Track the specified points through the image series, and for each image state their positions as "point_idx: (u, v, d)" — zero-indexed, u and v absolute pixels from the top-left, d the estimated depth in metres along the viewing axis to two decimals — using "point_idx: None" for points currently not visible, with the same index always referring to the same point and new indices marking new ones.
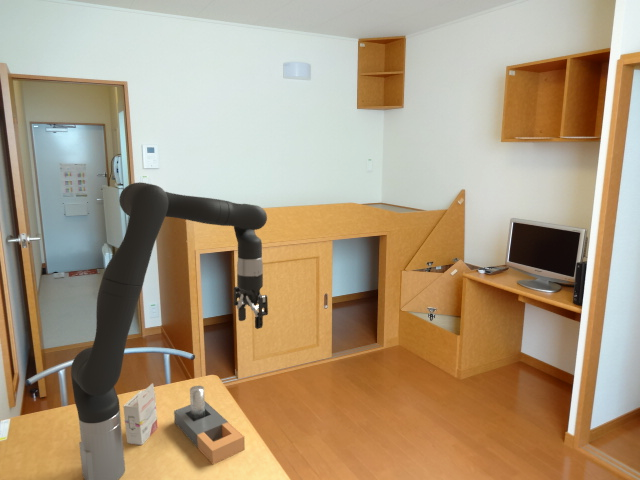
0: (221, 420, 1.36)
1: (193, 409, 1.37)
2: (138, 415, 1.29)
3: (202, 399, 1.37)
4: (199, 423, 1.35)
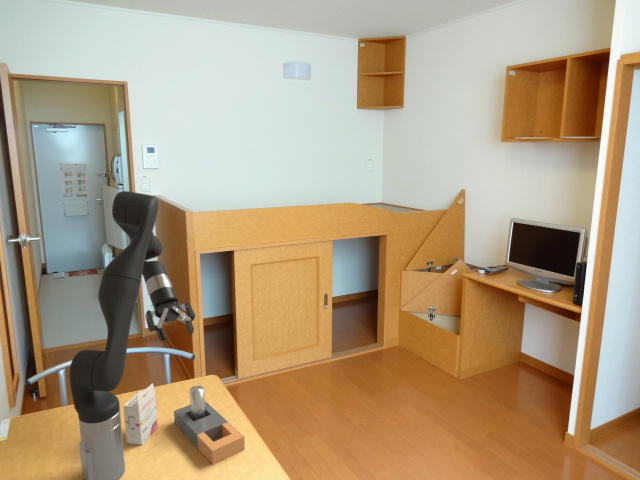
0: (221, 420, 1.36)
1: (193, 409, 1.37)
2: (138, 415, 1.29)
3: (202, 399, 1.37)
4: (199, 423, 1.35)
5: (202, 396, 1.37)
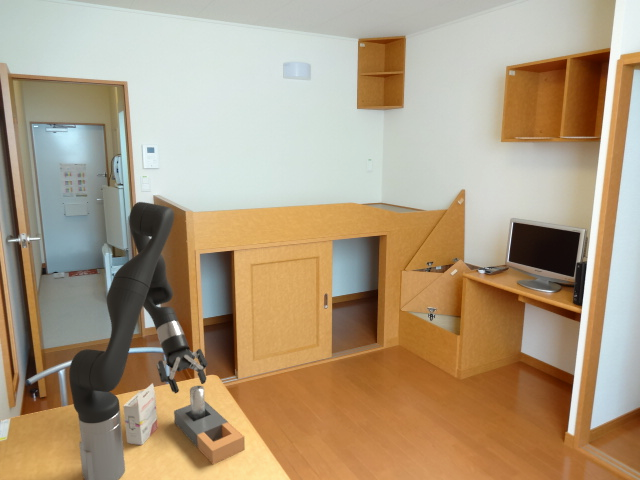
0: (221, 420, 1.36)
1: (193, 409, 1.37)
2: (138, 415, 1.29)
3: (202, 399, 1.37)
4: (199, 423, 1.35)
5: (202, 396, 1.37)
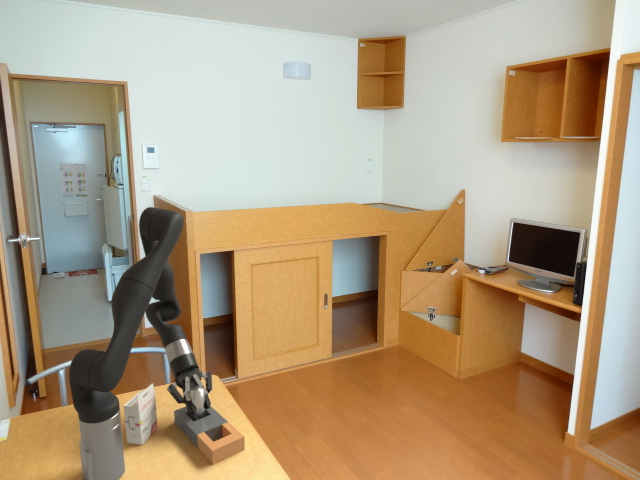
0: (221, 420, 1.36)
1: None
2: (138, 415, 1.29)
3: (202, 399, 1.37)
4: (199, 423, 1.35)
5: (202, 396, 1.37)
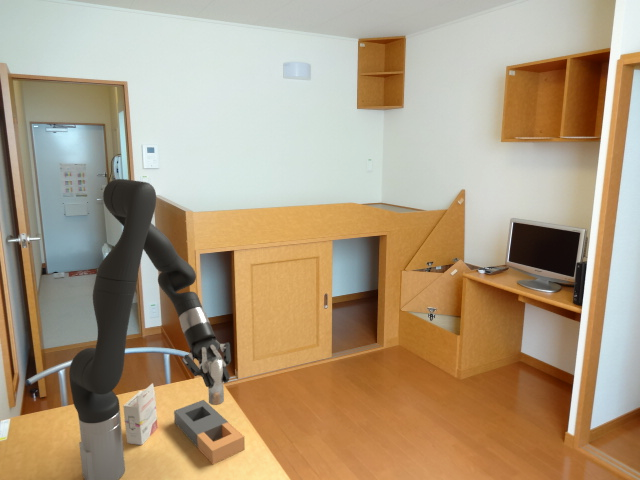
0: (221, 420, 1.36)
1: None
2: (138, 415, 1.29)
3: (220, 371, 1.25)
4: (199, 423, 1.35)
5: (221, 368, 1.25)
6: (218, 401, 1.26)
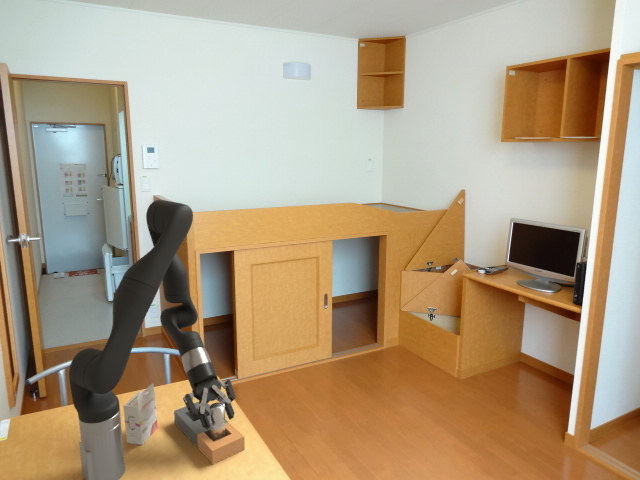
0: None
1: (213, 428, 1.28)
2: (138, 415, 1.29)
3: (223, 417, 1.28)
4: (199, 423, 1.35)
5: (223, 414, 1.28)
6: None
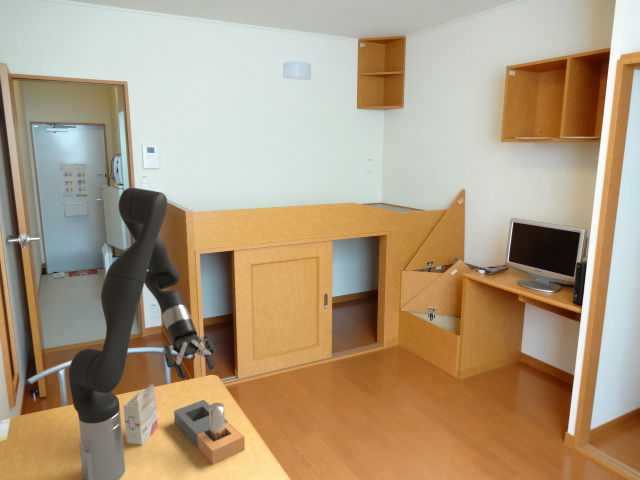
0: None
1: (213, 429, 1.28)
2: (138, 415, 1.29)
3: (222, 417, 1.28)
4: (199, 423, 1.35)
5: (222, 414, 1.28)
6: None
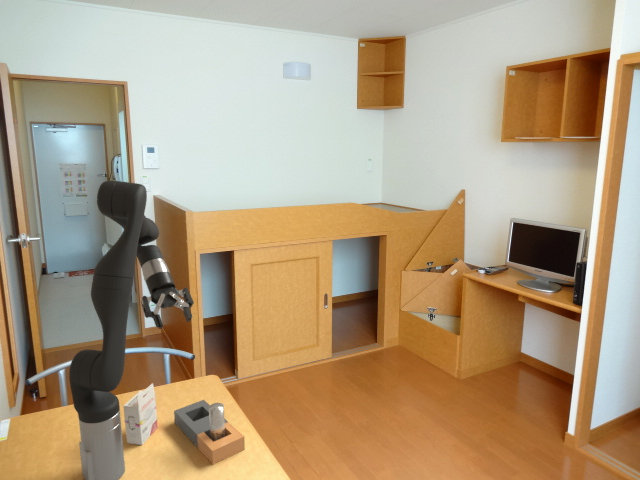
0: None
1: (213, 429, 1.28)
2: (138, 415, 1.29)
3: (222, 417, 1.28)
4: (199, 423, 1.35)
5: (222, 414, 1.28)
6: None
